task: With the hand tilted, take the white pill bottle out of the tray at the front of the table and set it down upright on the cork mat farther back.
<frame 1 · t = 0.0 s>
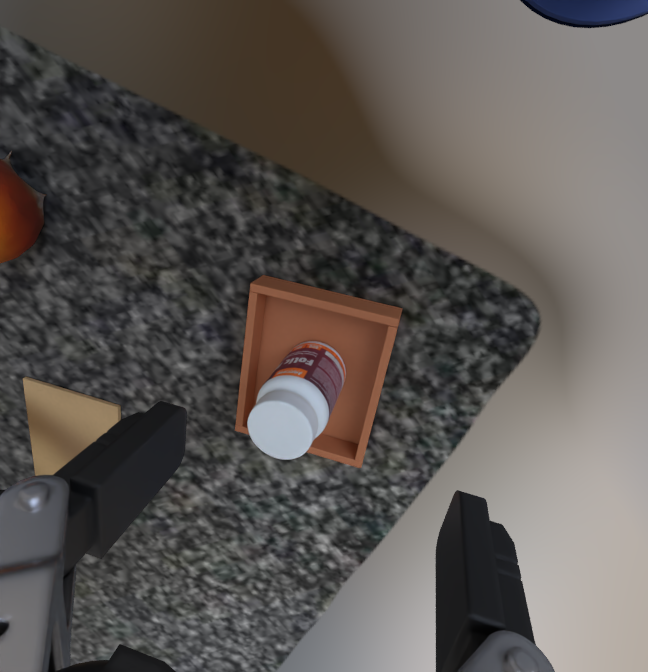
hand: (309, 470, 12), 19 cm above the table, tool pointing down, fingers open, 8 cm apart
pill bottle: (316, 367, 32), resting on tray
mat: (76, 442, 42), on the table
tray: (316, 366, 33), on the table
fruit: (17, 203, 34), on the table
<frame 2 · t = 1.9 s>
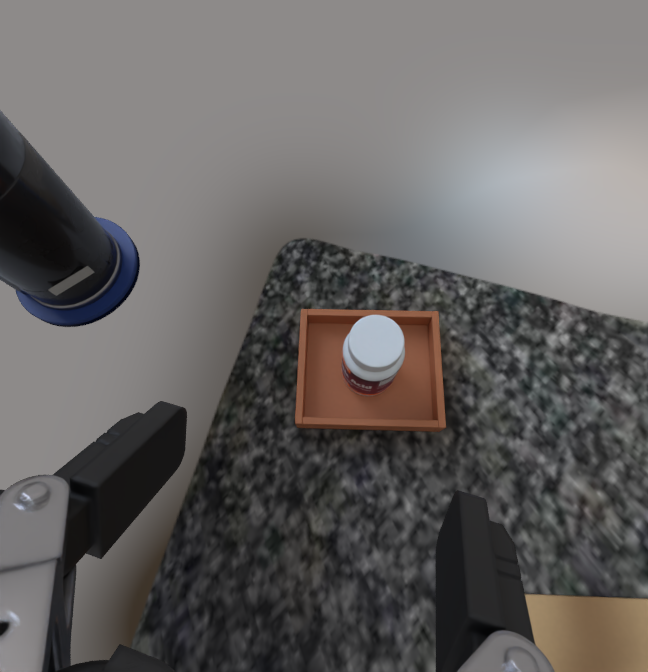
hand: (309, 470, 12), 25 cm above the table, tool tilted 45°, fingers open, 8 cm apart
pill bottle: (367, 371, 39), resting on tray
tray: (367, 372, 39), on the table
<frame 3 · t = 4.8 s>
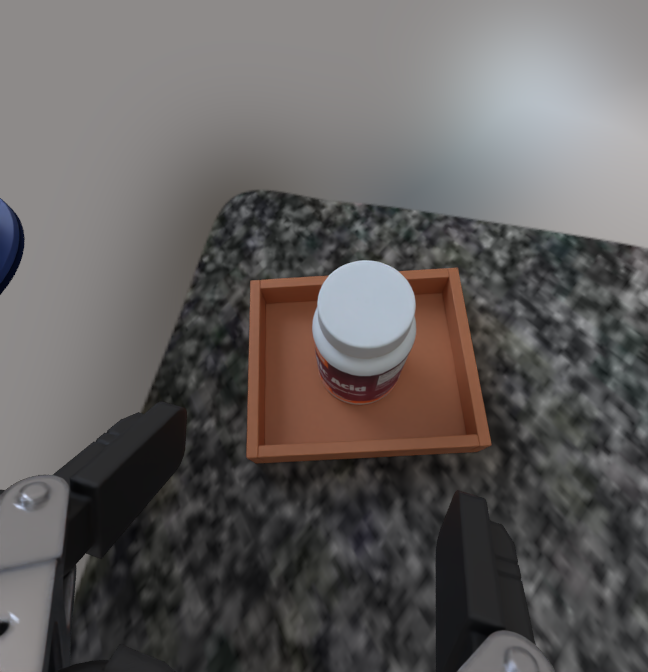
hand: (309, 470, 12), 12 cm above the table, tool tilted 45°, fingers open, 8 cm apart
pill bottle: (359, 368, 25), resting on tray
tray: (358, 369, 26), on the table
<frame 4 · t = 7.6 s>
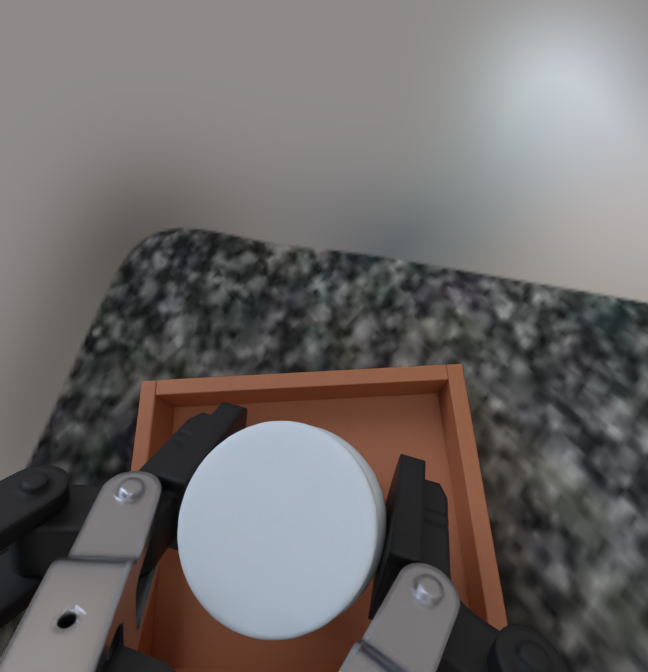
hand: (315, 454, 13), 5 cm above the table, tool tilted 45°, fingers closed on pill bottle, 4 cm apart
pill bottle: (308, 517, 16), resting on tray, touching gripper
tray: (309, 517, 17), on the table
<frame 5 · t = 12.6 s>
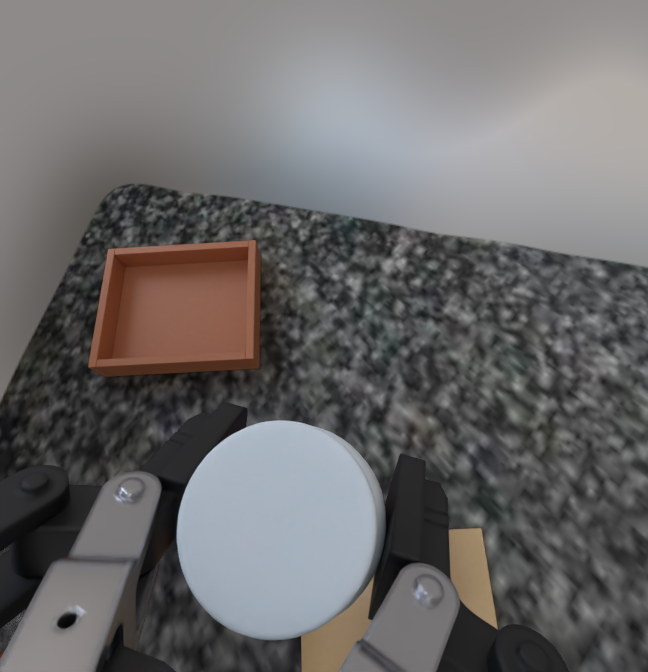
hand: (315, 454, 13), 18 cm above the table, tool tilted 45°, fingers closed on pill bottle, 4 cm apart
pill bottle: (308, 517, 16), point 14 cm above the table, touching gripper
mat: (397, 619, 27), on the table
tray: (186, 313, 35), on the table
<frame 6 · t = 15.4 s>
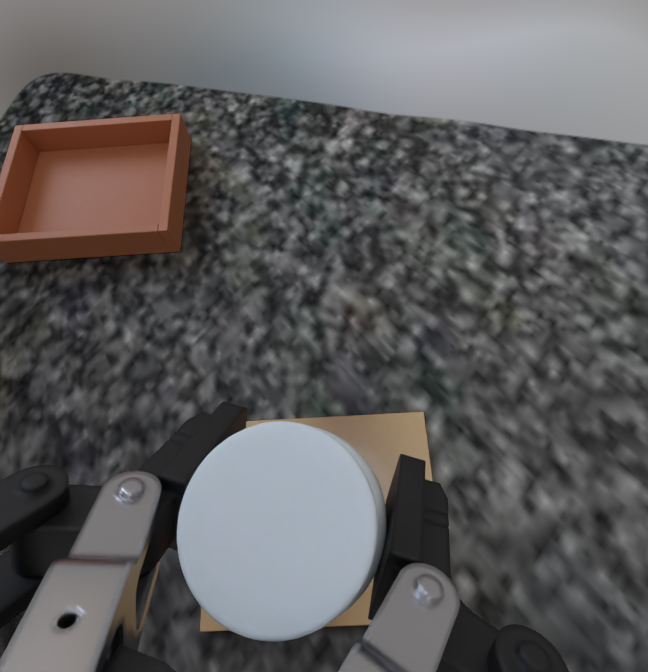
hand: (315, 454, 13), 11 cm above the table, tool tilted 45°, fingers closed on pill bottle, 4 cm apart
pill bottle: (308, 518, 16), point 7 cm above the table, touching gripper
mat: (320, 513, 23), on the table
tray: (103, 197, 31), on the table
when the fingers open (5 cm above the table, at t = 17.6 s): pill bottle stays where it is, resting on mat.
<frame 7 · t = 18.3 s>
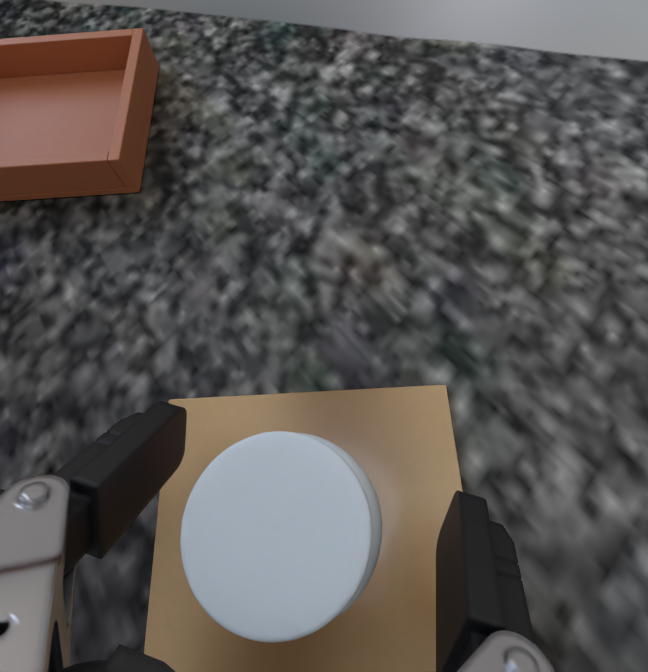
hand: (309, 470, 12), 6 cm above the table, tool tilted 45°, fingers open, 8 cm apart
pill bottle: (307, 521, 17), resting on mat
mat: (310, 517, 17), on the table
tray: (50, 131, 26), on the table
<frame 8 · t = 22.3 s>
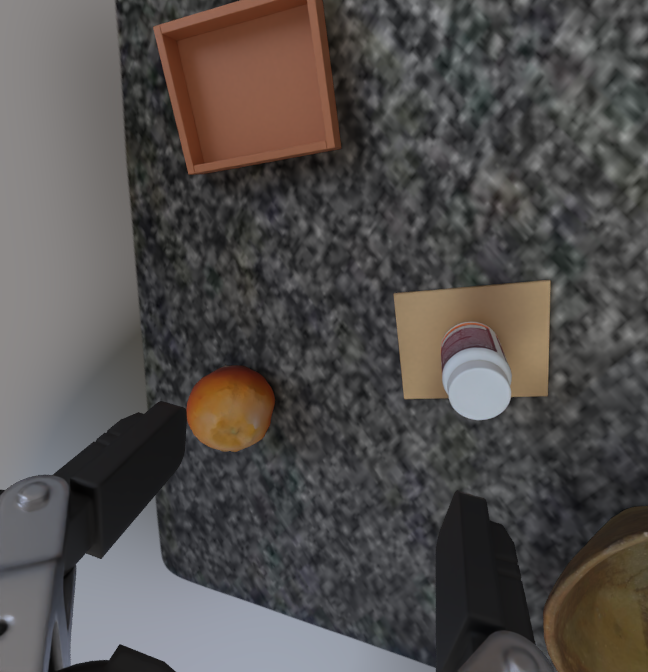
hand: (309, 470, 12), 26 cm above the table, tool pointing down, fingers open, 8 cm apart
pill bottle: (469, 346, 37), resting on mat
mat: (470, 343, 37), on the table
tray: (256, 92, 33), on the table
fruit: (245, 390, 44), on the table
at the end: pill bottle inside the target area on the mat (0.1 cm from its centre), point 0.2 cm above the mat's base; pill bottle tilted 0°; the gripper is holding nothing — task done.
